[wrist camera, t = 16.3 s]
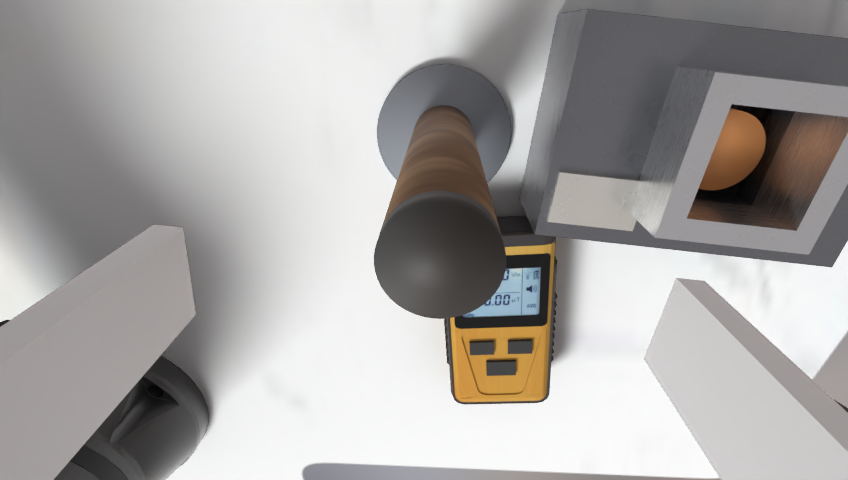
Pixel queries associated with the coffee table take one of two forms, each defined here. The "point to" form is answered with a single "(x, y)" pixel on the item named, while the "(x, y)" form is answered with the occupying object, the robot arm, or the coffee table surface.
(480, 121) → the coaster
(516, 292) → the electronic device
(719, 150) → the brown egg
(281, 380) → the coffee table surface
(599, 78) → the box
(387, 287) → the brown cylinder with cap
